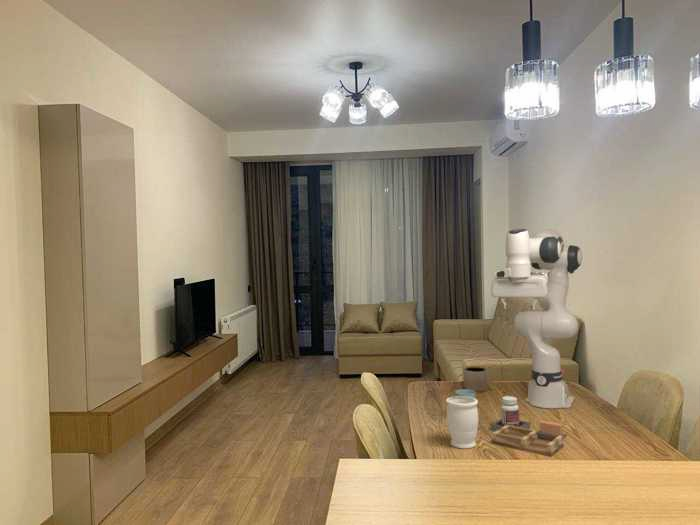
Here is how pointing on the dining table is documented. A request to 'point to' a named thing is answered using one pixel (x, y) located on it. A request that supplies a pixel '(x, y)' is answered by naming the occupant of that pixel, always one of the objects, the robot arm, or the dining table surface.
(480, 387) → the planter
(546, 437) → the grey metal lipped plate
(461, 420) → the jar
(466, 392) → the cup
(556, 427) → the pink rectangular block
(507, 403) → the pill bottle
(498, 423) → the socket collar
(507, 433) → the rack
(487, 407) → the dining table surface
